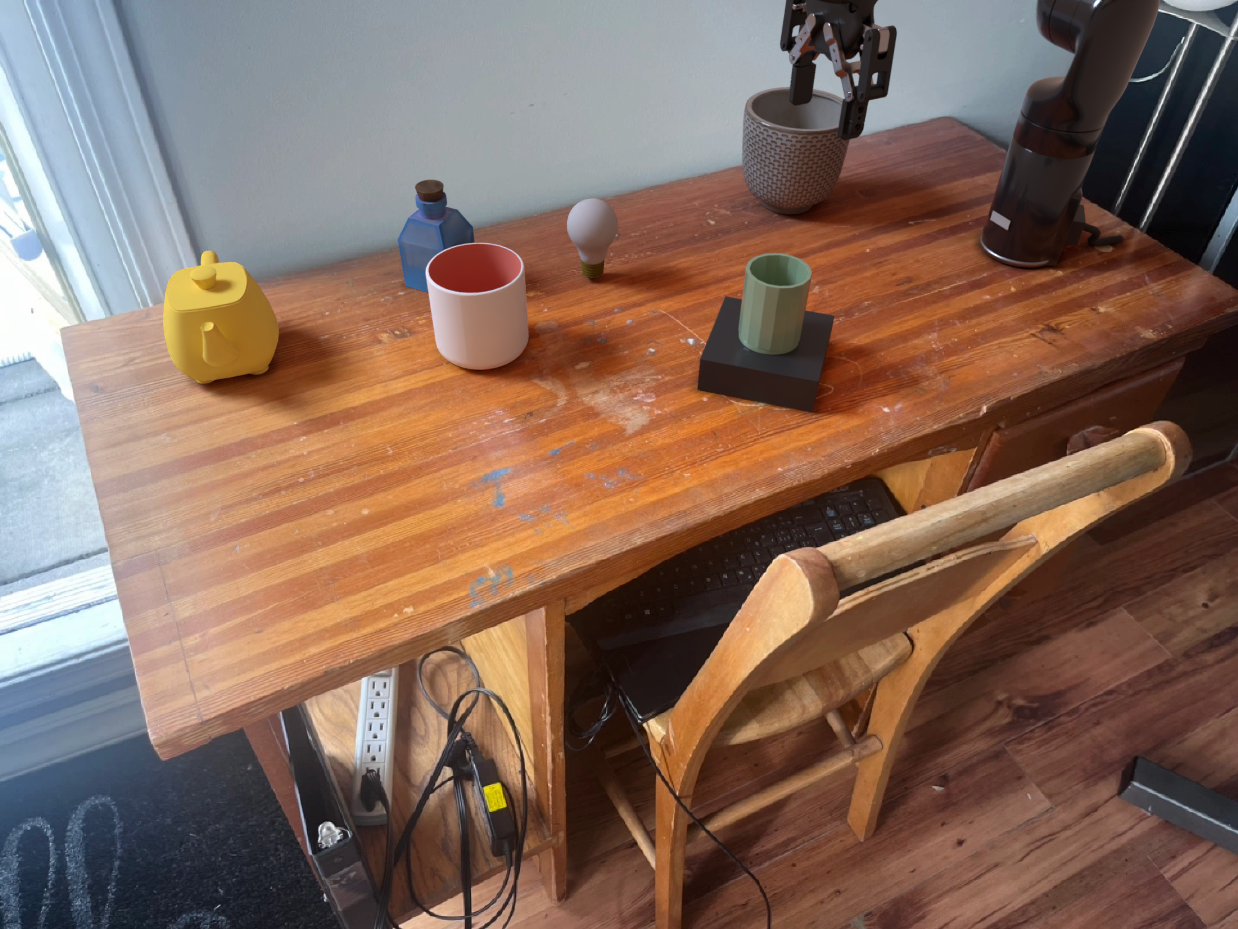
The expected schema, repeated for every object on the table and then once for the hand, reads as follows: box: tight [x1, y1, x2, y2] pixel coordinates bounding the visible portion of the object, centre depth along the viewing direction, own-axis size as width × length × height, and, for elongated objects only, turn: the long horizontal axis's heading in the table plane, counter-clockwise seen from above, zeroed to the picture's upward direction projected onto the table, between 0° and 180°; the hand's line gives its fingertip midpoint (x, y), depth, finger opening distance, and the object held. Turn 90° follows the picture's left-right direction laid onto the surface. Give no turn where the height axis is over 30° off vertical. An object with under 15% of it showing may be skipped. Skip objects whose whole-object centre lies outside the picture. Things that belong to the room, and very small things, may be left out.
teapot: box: [162, 250, 280, 385], centre depth 97 cm, size 18×11×11 cm, turn 18°
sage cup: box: [738, 252, 813, 355], centre depth 95 cm, size 6×6×8 cm
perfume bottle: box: [397, 179, 476, 293], centre depth 108 cm, size 6×6×12 cm
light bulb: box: [566, 198, 619, 280], centre depth 110 cm, size 6×6×10 cm
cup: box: [426, 242, 530, 371], centre depth 99 cm, size 10×10×10 cm
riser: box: [697, 296, 835, 413], centre depth 100 cm, size 12×12×4 cm
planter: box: [741, 86, 851, 215], centre depth 123 cm, size 14×14×13 cm
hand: (823, 119), depth 90 cm, fingers open, 8 cm apart
